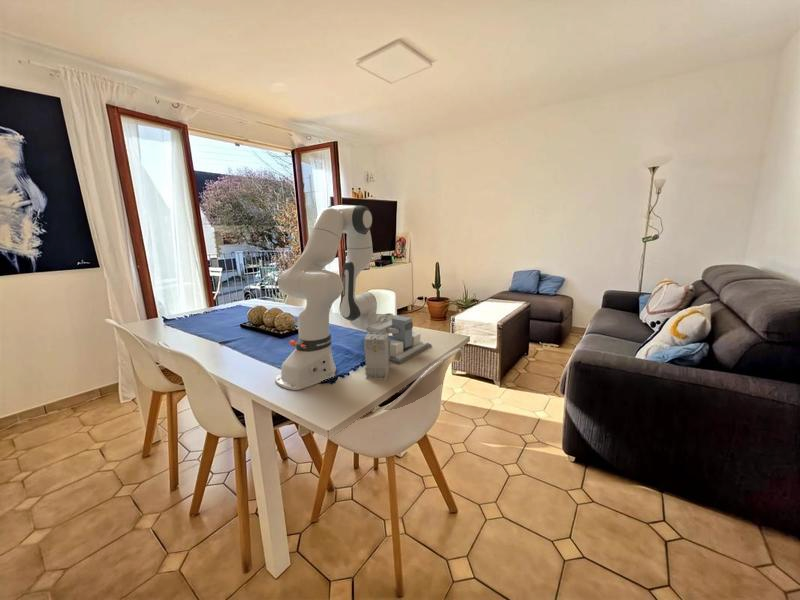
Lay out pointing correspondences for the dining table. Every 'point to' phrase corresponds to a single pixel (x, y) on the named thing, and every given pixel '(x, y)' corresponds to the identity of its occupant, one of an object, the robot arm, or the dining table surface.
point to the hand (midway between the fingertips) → (403, 329)
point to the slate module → (403, 330)
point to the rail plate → (406, 349)
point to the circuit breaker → (377, 355)
